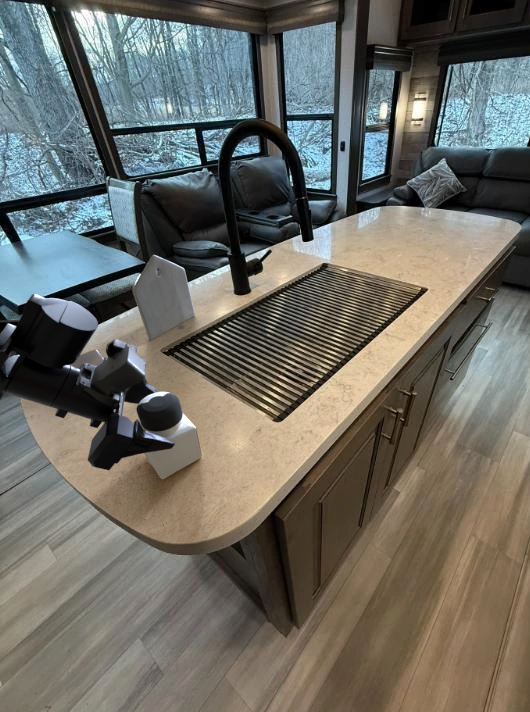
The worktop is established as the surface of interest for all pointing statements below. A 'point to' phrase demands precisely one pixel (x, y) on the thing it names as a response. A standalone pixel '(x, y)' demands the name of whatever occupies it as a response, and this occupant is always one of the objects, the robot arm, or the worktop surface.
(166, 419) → the medicine bottle
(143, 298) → the grey house-shaped board
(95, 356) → the brown square tile
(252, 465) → the worktop surface
